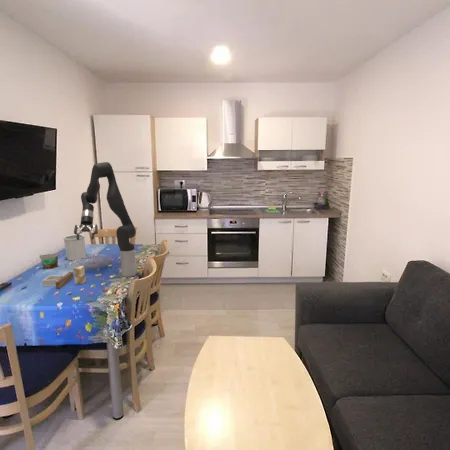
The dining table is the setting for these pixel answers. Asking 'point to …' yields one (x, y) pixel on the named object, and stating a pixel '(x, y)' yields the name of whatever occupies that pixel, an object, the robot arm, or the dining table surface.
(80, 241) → the utensil holder
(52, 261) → the food container
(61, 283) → the rail
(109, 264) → the dining table surface
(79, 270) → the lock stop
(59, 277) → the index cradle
